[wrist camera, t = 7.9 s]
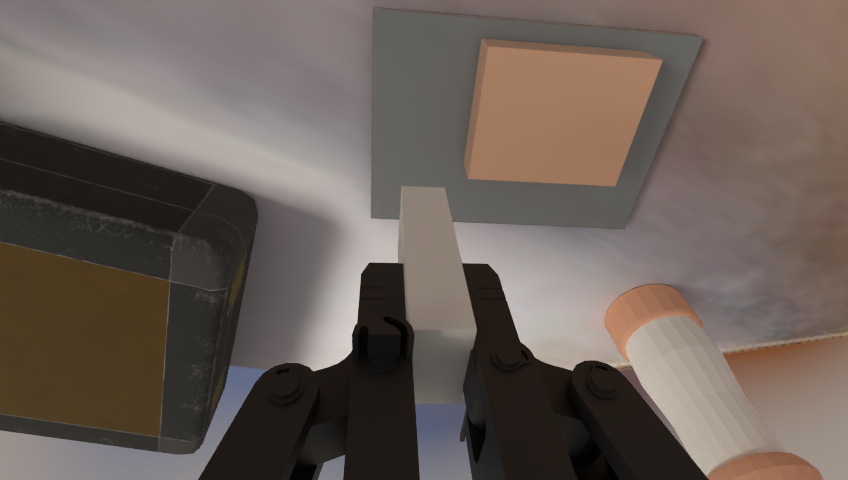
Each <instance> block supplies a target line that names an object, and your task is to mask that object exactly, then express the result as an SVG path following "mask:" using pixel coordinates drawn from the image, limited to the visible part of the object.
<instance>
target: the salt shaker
mask: <svg viewBox="0 0 848 480" xmlns="http://www.w3.org/2000/svg"><path fill="white" fill-rule="evenodd" d="M605 323H606V328H607V329H608V331H609V333H610V335H611V337H612V339H613V341H614V342H615V344H616V346H617V348H618V350H619V352H620V354H621V355H622V356H623V357H624V358H625V360H627V361H629V362H630V363H631V365H632V367H633V369H634V371H635V373H636V375H637V377H638V379H639V381H640V383H641V384H642V386H643V388H644V389H645V390H646V392H647V393H648V394H649V396H650V397H651V398H652V400H653V401H654V402H655V403H656V405H657V406H658V407H659V409H660V410H661V411H662V412H663V414H664V415H665V416H666V418H667V419H668V420H669V422H670V423H671V424H672V425H673V427H674V429H675V430H676V432H677V434H678V436H679V437H680V439H681V441H682V443H683V444H684V446H685V448H686V450H687V451H688V453H689V455H690V457H691V458H692V459H693V461H694V462H695V463H696V464H697V466H698V467H699V468H700V469H701V470H702V472H703V473H704V474H705V475H706V477H707V478H708V479H709V480H823V478H822V476H821V474H820V472H819V471H818V470H817V469H816V468H815V467H814V466H812V465H811V464H810V463H809V462H807V461H805V460H804V459H802V458H800V457H799V456H796V455H794V454H792V453H787V452H786V451H785V449H784V448H783V447H782V445H781V444H780V443H779V441H778V440H777V439H776V437H775V436H774V435H773V433H772V432H771V431H770V429H769V428H768V427H767V425H766V424H765V422H764V421H763V420H762V418H761V417H760V416H759V415H758V413H757V412H756V411H755V409H754V408H753V406H752V405H751V404H750V403H749V401H748V400H747V398H746V396H745V395H744V393H743V391H742V389H741V387H740V385H739V384H738V382H737V380H736V378H735V376H734V375H733V373H732V371H731V369H730V368H729V365H728V363H727V362H726V360H725V358H724V356H723V355H722V353H721V351H720V350H719V349H718V348H717V347H716V345H715V344H714V343H713V342H712V341H711V339H710V338H709V337H708V336H707V335H706V333H705V332H704V331H703V330H702V322H701V321H700V319H699V317H698V316H697V315H696V313H695V312H694V311H693V310H692V308H691V307H690V306H689V304H688V303H687V302H686V301H685V299H684V298H683V297H682V296H681V294H680V293H679V292H678V291H677V290H675V289H674V288H672V287H670V286H667V285H662V284H652V285H644V286H641V287H638V288H634V289H632V290H630V291H628V292H627V293H625V294H623V295H621V296H620V297H619V298H618V299H617V300H616V301H614V302H613V303H612V305H611V306H610V308H609V309H608V311H607V313H606V317H605Z"/></svg>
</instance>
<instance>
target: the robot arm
mask: <svg viewBox="0 0 848 480" xmlns="http://www.w3.org/2000/svg"><path fill="white" fill-rule="evenodd" d="M352 346H353V350H352V352H351V353H350V354H349V355H348V356H347V357H346V358H345V359H344V360H343V361H341V362H339V363H338V364H336V365H333V366H331V367H328V368H324V369H321V370H317V371H314V372H313V371H312V370H311V369H310V368H309V367H307V366H304V365H302V364H299V363H285V364H282V365H278V366H275V367H273V368H271V369H270V370H268V371H266V372H265V373H263V374H262V376H261V377H260V378H259V379H258V381H256V383H255V384H254V386H253V388H252V389H251V391H250V393H249V394H248V396H247V398H246V400H245V401H244V403H243V405H242V407H241V408H240V410H239V411H238V413H237V415H236V416H235V418H234V420H233V422H232V423H231V425H230V427H229V428H228V430H227V432H226V433H225V435H224V437H223V439H222V440H221V442H220V444H219V445H218V447H217V449H216V450H215V452H214V454H213V455H212V457H211V459H210V461H209V462H208V464H207V466H206V467H205V469H204V471H203V472H202V474H201V476H200V478H199V479H198V480H318V477H319V474H320V472H321V469H322V466H323V463H324V462H326V461H329V460H331V459H334V458H337V457H340V456H342V455H345V466H344V478H343V480H420V479H419V478H420V477H419V461H418V445H417V429H416V412H415V404H443V403H444V404H445V403H447V404H448V403H461V401H462V396H463V392H464V397H465V403H466V411H465V416H464V420H463V424H462V428H461V433H460V441H464V440H465V436H466V441H467V447H468V454H469V461H470V466H471V473H472V479H473V480H709V479H708V478H707V477H706V475H705V474H704V473H703V472H702V470H701V469H700V468H699V467H698V466H697V464H696V463H695V462H694V461H693V459H692V458H691V457H690V456H689V454H688V453H687V452H686V451H685V450H684V448H683V447H682V446H681V445H680V444H679V442H678V441H677V440H676V439H675V437H674V436H673V435H672V434H671V433H670V431H669V430H668V429H667V428H666V426H665V425H664V424H663V423H662V421H661V420H660V419H659V418H658V417H657V415H656V414H655V413H654V411H653V410H652V409H651V408H650V407H649V405H648V404H647V403H646V402H645V400H644V399H643V398H642V397H641V396H640V394H639V393H638V392H637V391H636V389H635V388H634V387H633V386H632V384H631V383H630V382H629V381H628V380H627V378H626V377H624V375H622V374H621V373H620V372H619V371H618V370H617V369H615V368H613V367H612V366H610V365H608V364H606V363H602V362H599V361H583V362H581V363H579V364H577V365H576V366H575V368H574V370H573V371H571V370H568V369H564V368H560V367H557V366H553V365H549V364H547V363H544V362H541V361H540V360H538V359H536V358H535V357H534V356H533V354H532V352H531V351H530V350H529V349H528V348H527V347H526V346H525V345H524V344H522V343H521V342H520V340H519V338H518V334H517V331H516V328H515V325H514V322H513V319H512V316H511V313H510V310H509V307H508V304H507V301H506V298H505V295H504V292H503V290H502V285H501V282H500V279H499V276H498V275H497V273H496V272H495V271H494V270H493V269H492V268H491V267H490V266H489V265H488V264H465V263H462V262H461V257H460V253H459V248H458V244H457V240H456V235H455V231H454V226H453V222H452V218H451V213H450V209H449V204H448V200H447V196H446V191H445V188H443V187H417V186H401V203H400V221H399V239H398V263H369V264H368V265H367V267H366V268H365V270H364V271H363V272H362V274H361V285H360V297H359V310H358V323H357V324H356V325H355V328H354V331H353V334H352Z"/></svg>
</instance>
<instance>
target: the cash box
mask: <svg viewBox="0 0 848 480" xmlns="http://www.w3.org/2000/svg"><path fill="white" fill-rule="evenodd" d="M257 219H258V213H257V209H256V206H255V202H254V200H253V199H251V198H250V197H248V196H247V195H245V194H244V193H242V192H241V191H239V190H235V189H232V188H228V187H225V186H221V185H218V184H215V183H211V182H208V181H204V180H201V179H197V178H194V177H190V176H187V175H183V174H180V173H176V172H173V171H169V170H166V169H162V168H159V167H156V166H152V165H149V164H145V163H142V162H138V161H135V160H131V159H128V158H124V157H121V156H117V155H114V154H110V153H107V152H103V151H100V150H96V149H93V148H89V147H86V146H82V145H79V144H76V143H72V142H69V141H65V140H62V139H58V138H55V137H51V136H48V135H44V134H41V133H37V132H34V131H30V130H27V129H23V128H20V127H16V126H13V125H9V124H6V123H2V122H0V430H2V431H10V432H17V433H24V434H32V435H39V436H46V437H53V438H61V439H69V440H76V441H83V442H90V443H97V444H104V445H111V446H119V447H127V448H134V449H141V450H149V451H155V452H163V453H170V454H192V453H194V452H195V451H196V450H197V449H199V448H200V446H201V445H202V443H203V441H204V438H205V436H206V433H207V431H208V428H209V426H210V423H211V420H212V418H213V415H214V413H215V411H216V408H217V405H218V403H219V400H220V398H221V395H222V393H223V390H224V388H225V384H226V378H227V374H228V368H229V363H230V358H231V353H232V348H233V343H234V338H235V333H236V327H237V322H238V317H239V312H240V307H241V302H242V296H243V291H244V286H245V281H246V276H247V271H248V266H249V260H250V255H251V250H252V245H253V240H254V235H255V229H256V224H257Z"/></svg>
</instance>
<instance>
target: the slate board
mask: <svg viewBox="0 0 848 480" xmlns="http://www.w3.org/2000/svg"><path fill="white" fill-rule="evenodd" d="M481 38H484V39H497V40H509V41H522V42H534V43H547V44H560V45H572V46H585V47H597V48H610V49H622V50H635V51H644V52H646V53H648V54H650V55H653V56H655V57H657V58H659V59H662V60H663V61H662V64H661V66H660V69H659V72H658V74H657V77H656V80H655V82H654V85H653V88H652V90H651V93H650V96H649V98H648V101H647V103H646V106H645V109H644V111H643V114H642V117H641V119H640V122H639V125H638V127H637V130H636V133H635V135H634V138H633V141H632V143H631V146H630V149H629V151H628V154H627V157H626V159H625V162H624V164H623V167H622V170H621V172H620V175H619V178H618V180H617V183H616V186H596V185H577V184H557V183H538V182H519V181H499V180H480V179H468V177H467V174H466V170H465V167H464V156H465V149H466V142H467V135H468V128H469V121H470V114H471V108H472V101H473V94H474V87H475V80H476V73H477V66H478V59H479V52H480V45H481ZM703 38H704V37H702V36H699V35H695V34H685V33H674V32H662V31H650V30H638V29H626V28H614V27H602V26H590V25H578V24H566V23H554V22H542V21H531V20H519V19H507V18H495V17H483V16H471V15H459V14H447V13H435V12H423V11H411V10H400V9H388V8H376V7H374V9H373V88H372V186H371V218H379V219H400V203H401V186H417V187H443V188H445V191H446V196H447V200H448V204H449V209H450V213H451V218H452V222H472V223H496V224H519V225H542V226H566V227H589V228H613V229H624V228H625V225H626V223H627V221H628V218H629V216H630V213H631V211H632V209H633V206H634V204H635V201H636V199H637V197H638V194H639V192H640V189H641V187H642V185H643V182H644V180H645V177H646V175H647V173H648V170H649V168H650V165H651V163H652V161H653V158H654V156H655V153H656V151H657V149H658V146H659V144H660V142H661V139H662V137H663V134H664V132H665V130H666V127H667V125H668V122H669V120H670V118H671V115H672V113H673V110H674V108H675V106H676V103H677V101H678V98H679V96H680V94H681V91H682V89H683V86H684V84H685V82H686V79H687V77H688V74H689V72H690V70H691V67H692V65H693V62H694V60H695V58H696V55H697V53H698V50H699V48H700V46H701V43H702V41H703Z"/></svg>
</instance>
